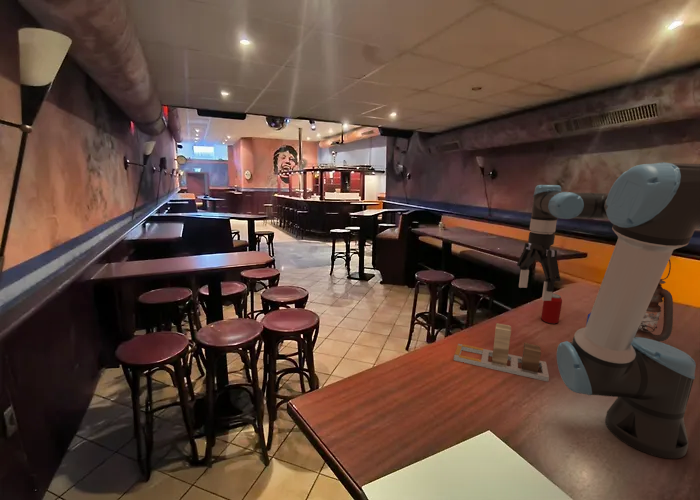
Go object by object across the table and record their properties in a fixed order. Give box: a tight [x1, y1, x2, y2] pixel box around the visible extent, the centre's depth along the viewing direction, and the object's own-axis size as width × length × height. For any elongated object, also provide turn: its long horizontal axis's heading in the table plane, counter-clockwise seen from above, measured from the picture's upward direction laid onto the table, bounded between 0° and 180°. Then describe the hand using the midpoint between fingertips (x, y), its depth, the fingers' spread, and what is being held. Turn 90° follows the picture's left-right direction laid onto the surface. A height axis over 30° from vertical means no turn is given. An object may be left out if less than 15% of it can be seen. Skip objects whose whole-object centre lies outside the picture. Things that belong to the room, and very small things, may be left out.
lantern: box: [634, 258, 674, 342], centre depth 127 cm, size 11×16×35 cm
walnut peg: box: [520, 342, 542, 373], centre depth 110 cm, size 4×4×8 cm
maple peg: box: [491, 323, 512, 366], centre depth 113 cm, size 4×4×13 cm
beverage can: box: [540, 292, 563, 325], centre depth 148 cm, size 7×7×12 cm
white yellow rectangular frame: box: [453, 343, 550, 382], centre depth 114 cm, size 10×28×2 cm, turn 65°
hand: (533, 293), depth 117 cm, fingers open, 13 cm apart
